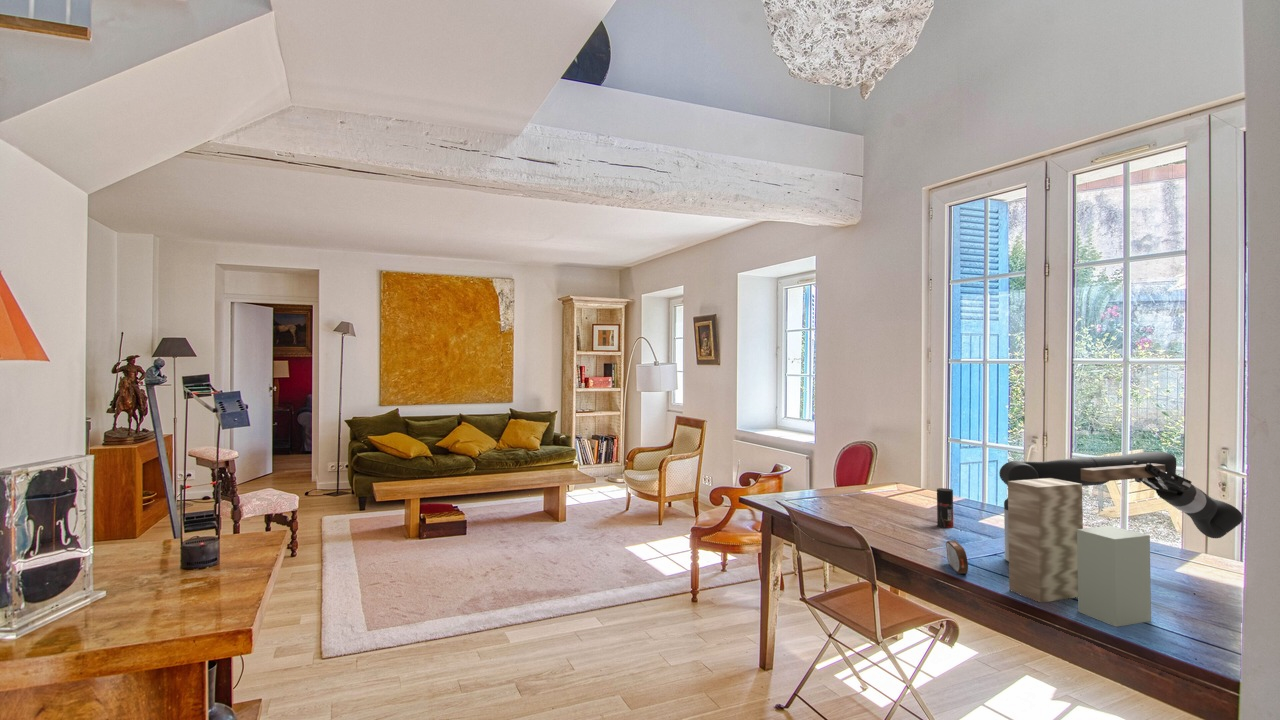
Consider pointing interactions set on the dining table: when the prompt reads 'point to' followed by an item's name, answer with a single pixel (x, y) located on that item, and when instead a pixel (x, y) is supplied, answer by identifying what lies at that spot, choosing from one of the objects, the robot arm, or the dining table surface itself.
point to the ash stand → (1044, 538)
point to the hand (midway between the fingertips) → (1140, 465)
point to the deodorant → (945, 508)
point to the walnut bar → (1117, 472)
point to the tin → (957, 557)
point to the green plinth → (1114, 575)
